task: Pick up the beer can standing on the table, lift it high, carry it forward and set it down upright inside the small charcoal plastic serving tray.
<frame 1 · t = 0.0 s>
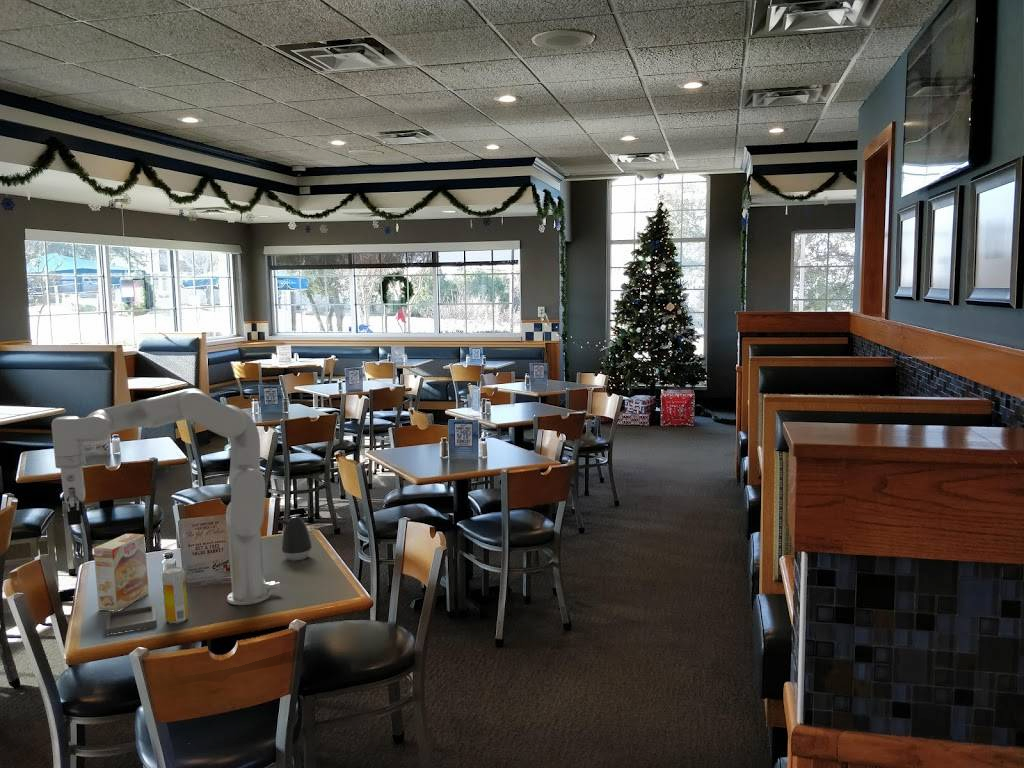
hand: (76, 520, 240), 31 cm above the table, tool pointing down, fingers open, 9 cm apart
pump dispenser: (297, 559, 298), on the table
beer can: (177, 620, 246), on the table
tray: (131, 623, 245), on the table
coffeecake box: (124, 602, 262), on the table
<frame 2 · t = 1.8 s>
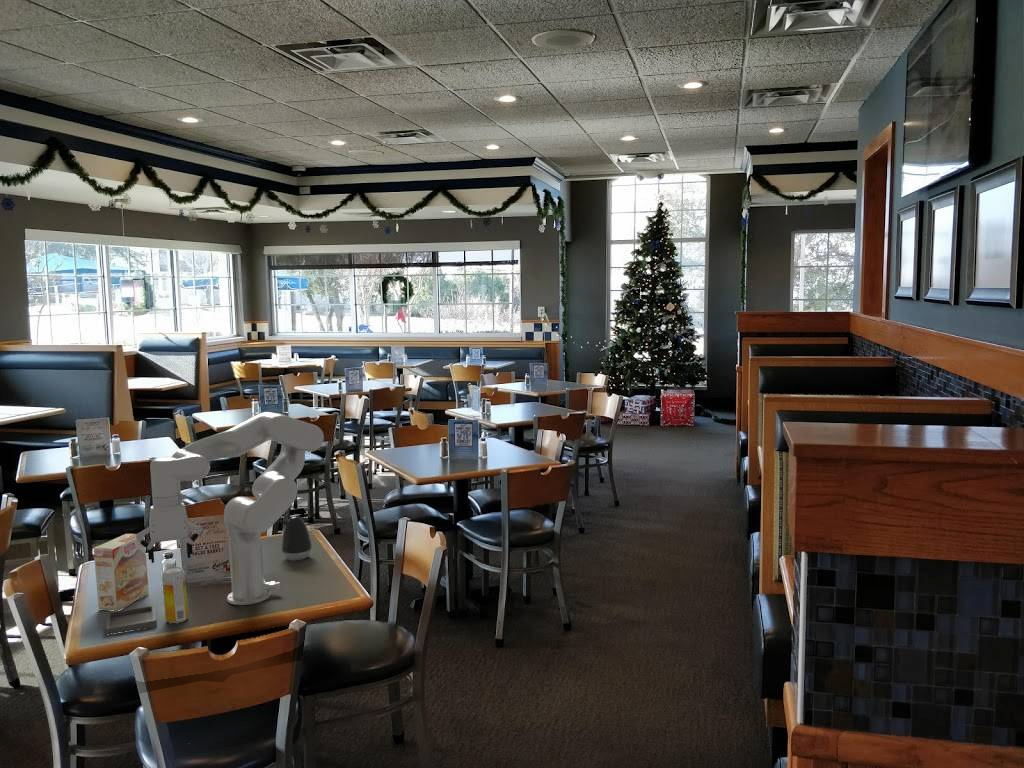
hand: (171, 559, 244), 18 cm above the table, tool pointing down, fingers open, 9 cm apart
nothing on the table moved.
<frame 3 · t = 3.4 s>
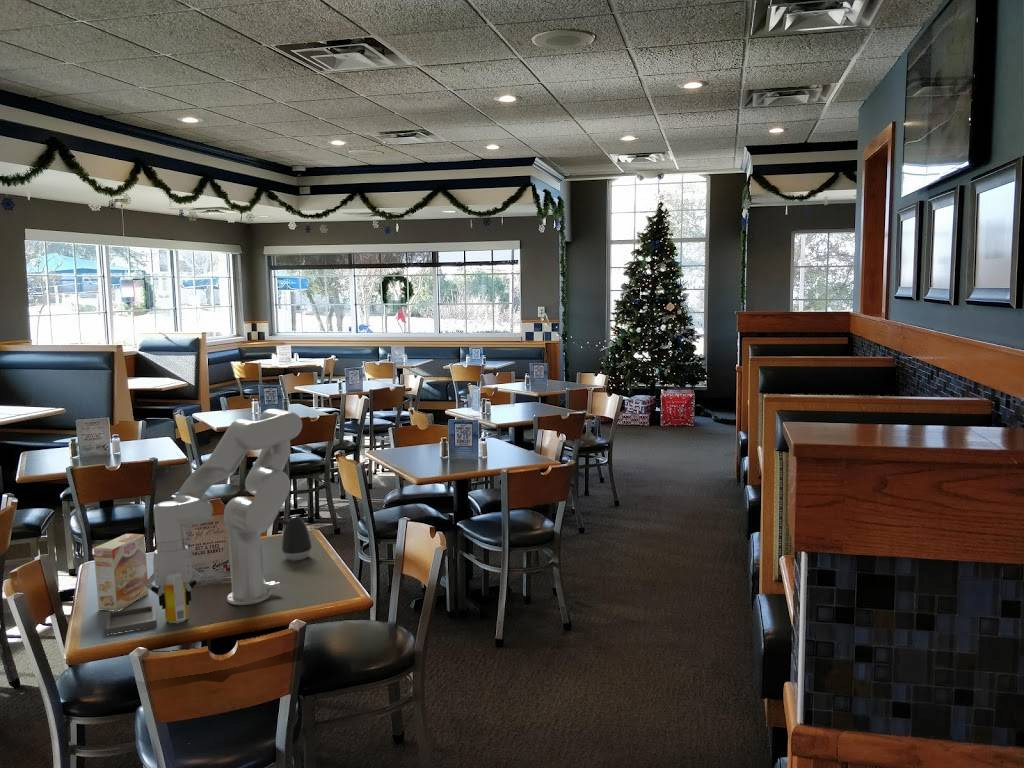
hand: (175, 604, 246), 5 cm above the table, tool pointing down, fingers closed on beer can, 5 cm apart
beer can: (177, 620, 246), on the table, touching gripper
everything else where it was.
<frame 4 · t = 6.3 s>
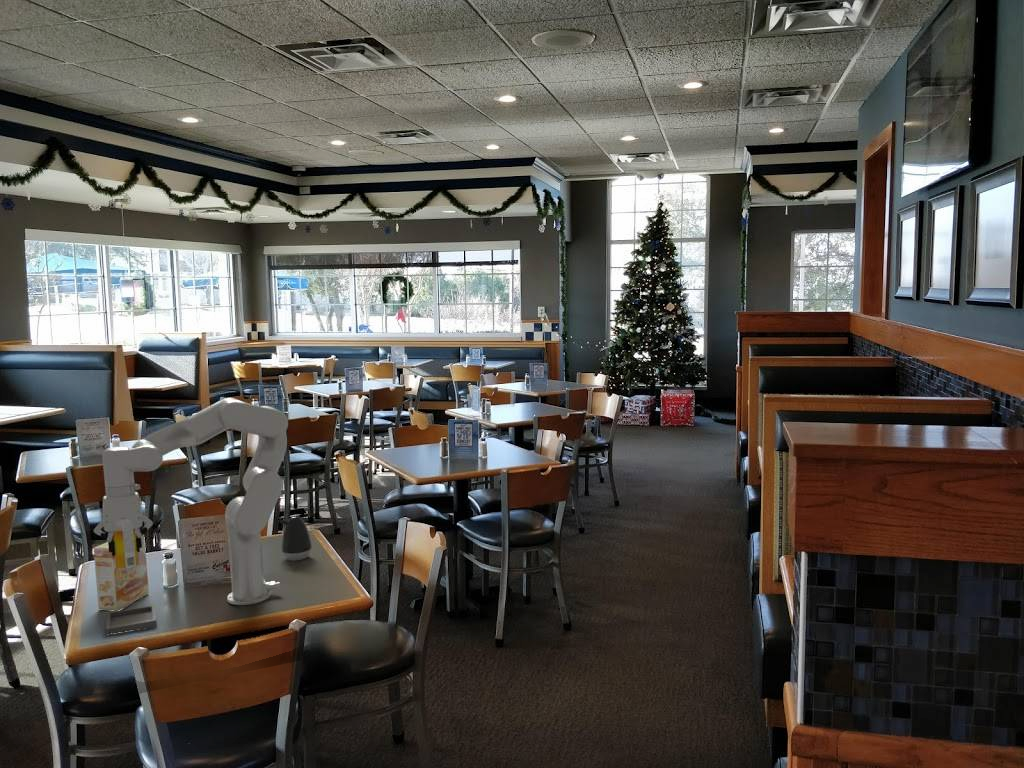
hand: (125, 551, 242), 21 cm above the table, tool pointing down, fingers closed on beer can, 5 cm apart
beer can: (127, 568, 243), point 16 cm above the table, touching gripper
everything else where it was.
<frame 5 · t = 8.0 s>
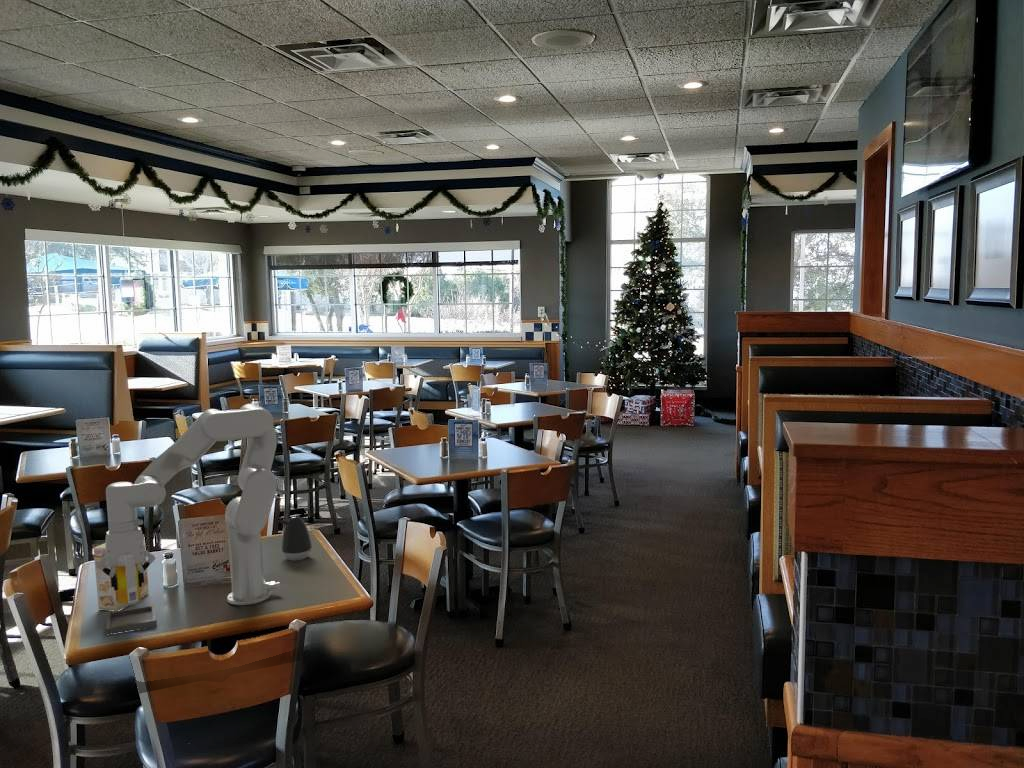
hand: (128, 586, 244), 11 cm above the table, tool pointing down, fingers closed on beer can, 5 cm apart
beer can: (129, 602, 244), point 6 cm above the table, touching gripper
everything else where it was.
when the fingers open (7 cm above the table, at t = 9.3 s): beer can drops 1 cm, resting on tray.
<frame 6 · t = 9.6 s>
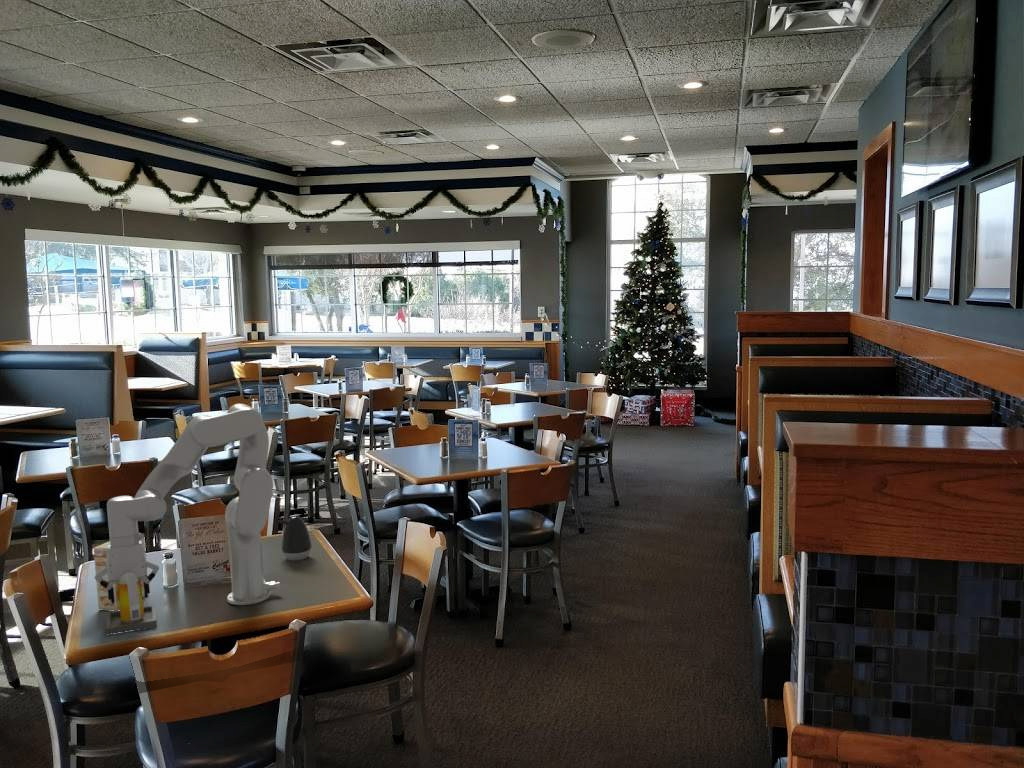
hand: (129, 598, 244), 7 cm above the table, tool pointing down, fingers open, 8 cm apart
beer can: (132, 620, 245), point 1 cm above the table, touching tray
everything else where it was.
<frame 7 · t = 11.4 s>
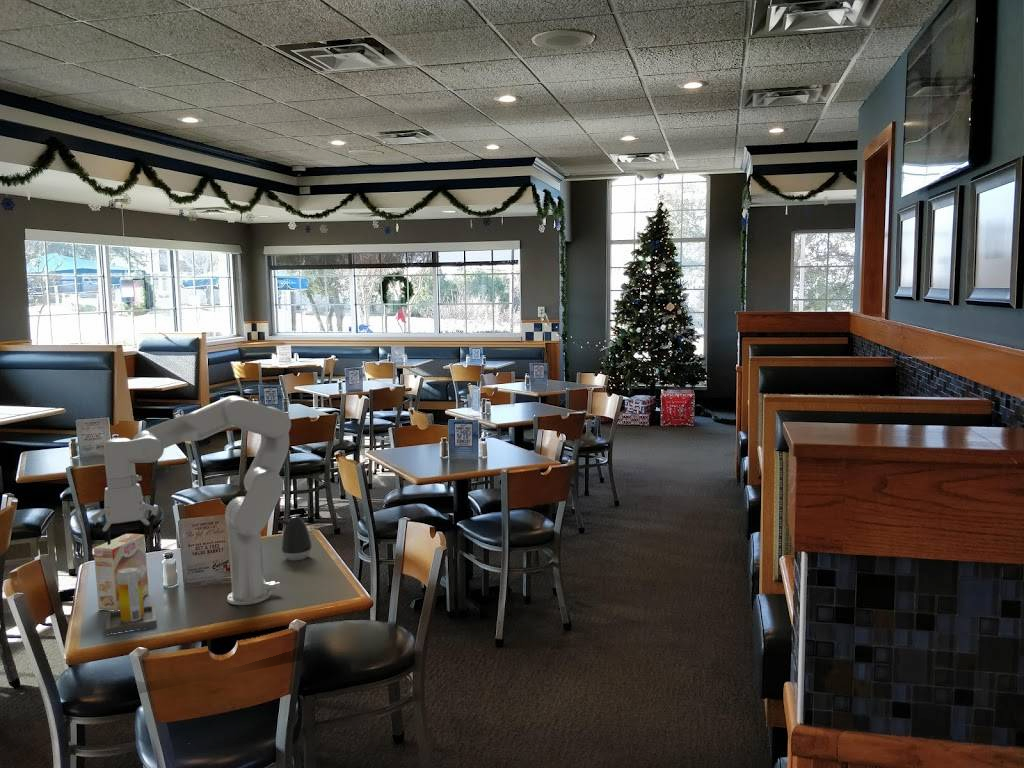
hand: (127, 540, 243), 24 cm above the table, tool pointing down, fingers open, 9 cm apart
nothing on the table moved.
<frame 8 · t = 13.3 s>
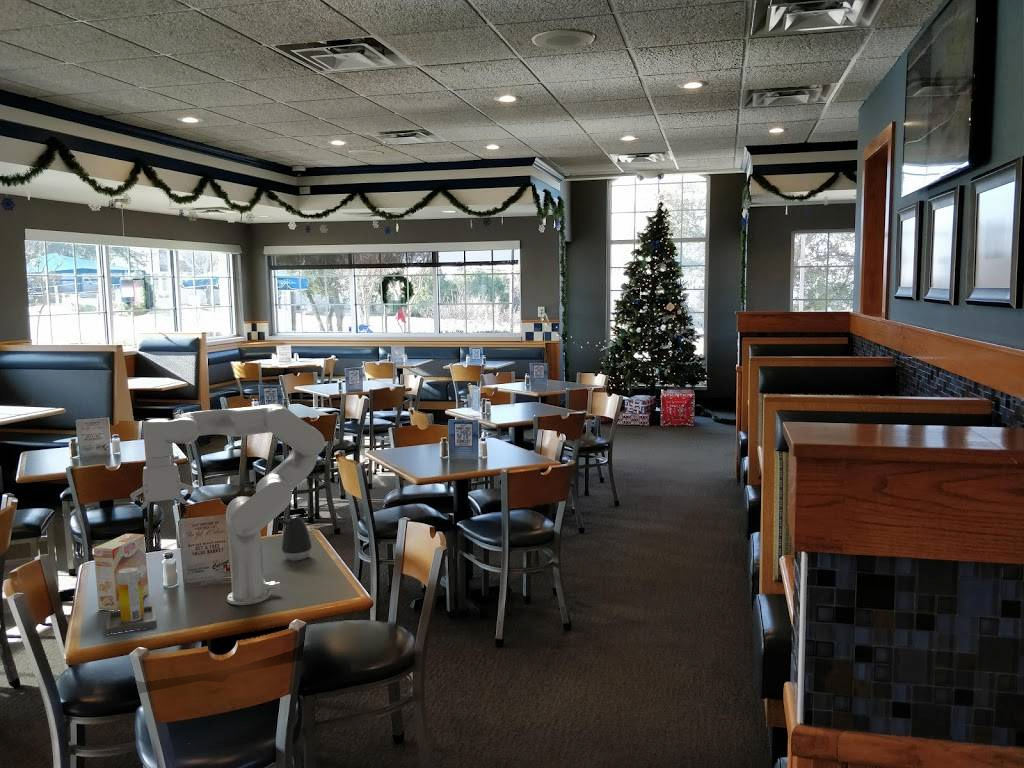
hand: (164, 518, 249), 28 cm above the table, tool pointing down, fingers open, 9 cm apart
nothing on the table moved.
at the end: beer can inside the target area on the tray (0.3 cm from its centre), point 0.6 cm above the tray's base; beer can tilted 0°; the gripper is holding nothing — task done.
